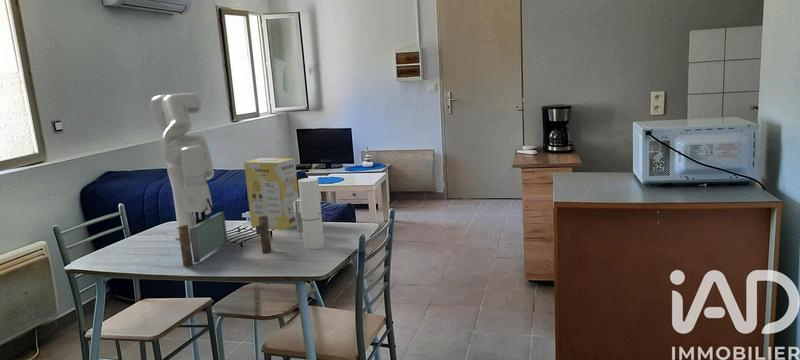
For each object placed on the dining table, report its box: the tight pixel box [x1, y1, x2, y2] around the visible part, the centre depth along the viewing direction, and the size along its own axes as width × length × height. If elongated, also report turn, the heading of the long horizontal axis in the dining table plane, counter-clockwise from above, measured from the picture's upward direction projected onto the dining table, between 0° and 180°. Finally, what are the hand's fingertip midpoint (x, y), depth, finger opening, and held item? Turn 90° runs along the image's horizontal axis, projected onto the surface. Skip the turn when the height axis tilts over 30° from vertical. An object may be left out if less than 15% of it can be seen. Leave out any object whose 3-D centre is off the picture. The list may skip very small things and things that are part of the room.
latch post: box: [255, 216, 272, 254], centre depth 207 cm, size 5×4×13 cm
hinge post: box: [177, 225, 194, 267], centre depth 198 cm, size 3×3×14 cm
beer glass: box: [293, 197, 304, 240], centre depth 224 cm, size 7×7×15 cm
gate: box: [189, 211, 228, 264], centre depth 209 cm, size 23×2×12 cm, turn 171°
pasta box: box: [243, 157, 300, 231], centre depth 243 cm, size 18×10×28 cm, turn 63°
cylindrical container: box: [297, 177, 325, 250], centre depth 209 cm, size 7×7×25 cm
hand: (201, 228), depth 212 cm, fingers closed
